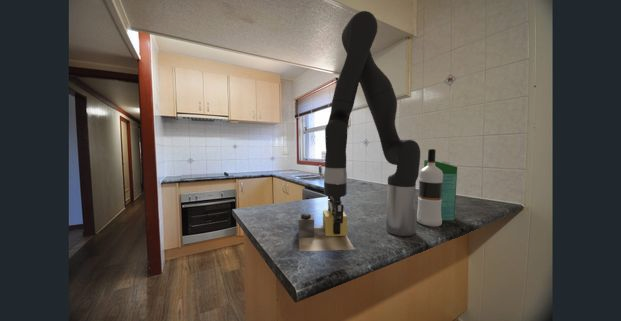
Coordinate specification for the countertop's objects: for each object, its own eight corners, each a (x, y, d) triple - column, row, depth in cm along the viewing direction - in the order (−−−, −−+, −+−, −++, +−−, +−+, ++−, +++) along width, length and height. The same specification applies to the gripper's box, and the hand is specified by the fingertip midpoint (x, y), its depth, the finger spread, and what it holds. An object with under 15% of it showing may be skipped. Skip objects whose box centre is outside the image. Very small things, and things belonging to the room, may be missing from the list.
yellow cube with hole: (342, 228, 74) (342, 208, 73) (346, 235, 68) (347, 214, 67) (322, 228, 73) (323, 208, 73) (325, 236, 67) (325, 214, 66)
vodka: (410, 221, 86) (413, 148, 84) (424, 217, 90) (428, 148, 88) (432, 229, 78) (436, 149, 76) (447, 225, 82) (451, 149, 80)
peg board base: (341, 230, 76) (342, 209, 75) (354, 253, 60) (355, 226, 59) (298, 232, 74) (298, 210, 74) (299, 255, 58) (299, 228, 58)
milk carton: (454, 220, 87) (457, 161, 85) (432, 220, 87) (435, 161, 85) (441, 213, 96) (444, 159, 94) (421, 213, 96) (424, 159, 94)
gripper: (321, 177, 76) (320, 222, 77) (327, 185, 62) (327, 239, 63) (341, 177, 77) (340, 221, 78) (352, 184, 62) (351, 238, 63)
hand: (334, 229), depth 70 cm, fingers closed on yellow cube with hole, 6 cm apart
